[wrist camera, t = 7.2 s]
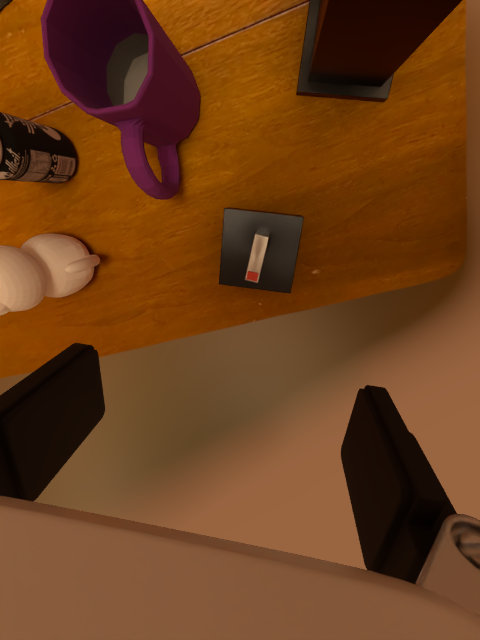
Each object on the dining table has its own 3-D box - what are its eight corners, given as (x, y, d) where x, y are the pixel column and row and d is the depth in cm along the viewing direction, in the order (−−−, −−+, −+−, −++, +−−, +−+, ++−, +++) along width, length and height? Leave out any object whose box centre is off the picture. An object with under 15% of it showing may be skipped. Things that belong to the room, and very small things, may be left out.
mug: (195, 48, 34) (137, -55, 20) (215, 194, 39) (181, 193, 26) (121, 64, 35) (19, -22, 21) (150, 203, 41) (86, 206, 27)
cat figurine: (28, 239, 45) (-81, 257, 31) (100, 221, 43) (16, 233, 29) (54, 294, 48) (-35, 333, 34) (122, 280, 46) (56, 316, 32)
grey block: (257, 230, 38) (254, 234, 33) (269, 232, 38) (268, 237, 33) (248, 271, 40) (244, 280, 35) (259, 273, 40) (257, 283, 35)
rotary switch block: (301, 215, 39) (303, 216, 36) (289, 287, 43) (290, 293, 40) (228, 207, 40) (224, 208, 37) (222, 278, 44) (218, 284, 41)
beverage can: (27, 128, 39) (-71, 102, 28) (74, 128, 38) (-8, 100, 27) (40, 183, 42) (-45, 178, 31) (83, 183, 41) (12, 178, 30)
